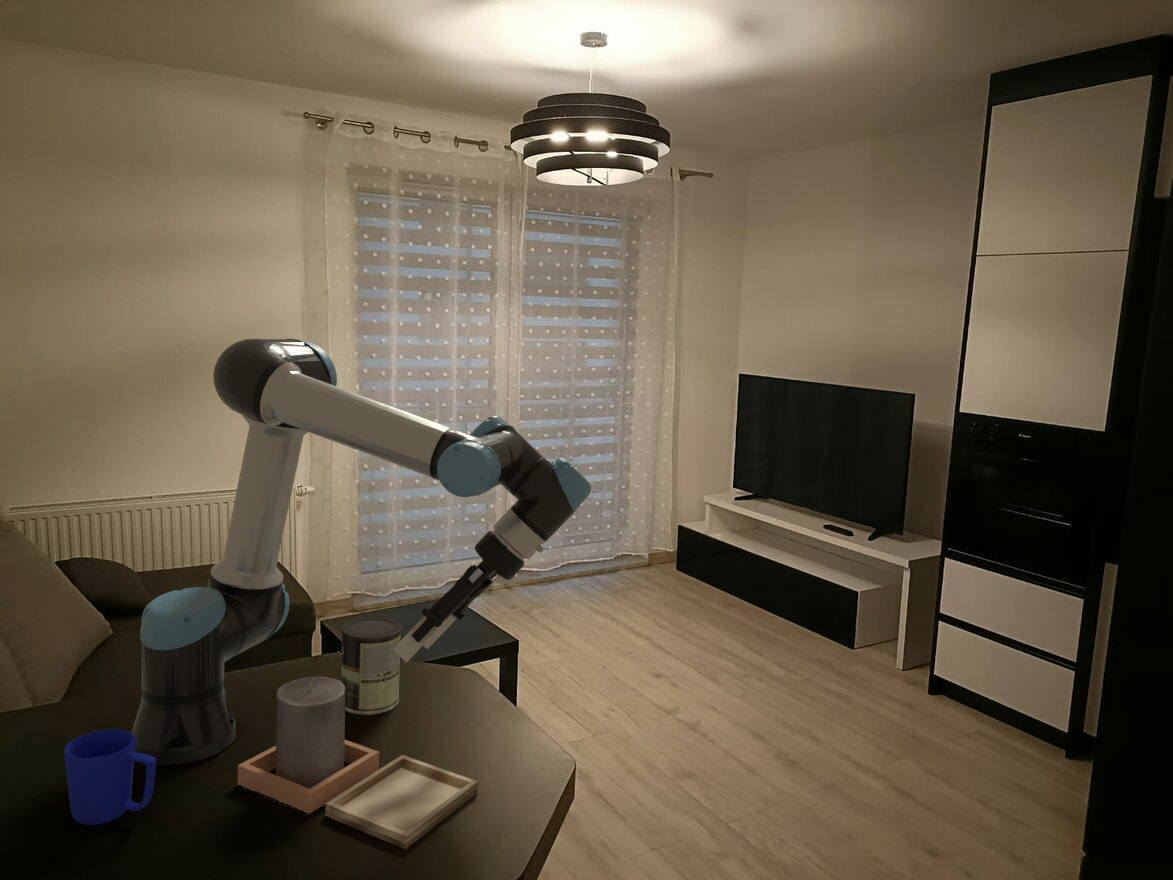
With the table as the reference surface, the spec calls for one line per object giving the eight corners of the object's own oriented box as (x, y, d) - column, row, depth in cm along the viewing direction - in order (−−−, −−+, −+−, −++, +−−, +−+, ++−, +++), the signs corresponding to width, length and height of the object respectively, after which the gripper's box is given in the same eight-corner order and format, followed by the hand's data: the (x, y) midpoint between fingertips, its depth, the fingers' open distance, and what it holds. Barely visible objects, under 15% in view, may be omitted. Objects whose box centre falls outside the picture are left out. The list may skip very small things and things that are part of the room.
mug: (130, 842, 106) (130, 768, 105) (50, 826, 108) (48, 753, 107) (174, 807, 114) (174, 738, 113) (98, 793, 116) (97, 725, 115)
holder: (237, 784, 120) (237, 765, 120) (310, 745, 133) (311, 727, 132) (308, 814, 114) (309, 794, 114) (378, 770, 126) (379, 751, 126)
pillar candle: (290, 758, 128) (290, 665, 126) (353, 762, 128) (354, 670, 126) (264, 793, 119) (264, 693, 117) (332, 798, 119) (333, 698, 116)
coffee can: (329, 711, 145) (331, 633, 143) (354, 687, 155) (356, 614, 153) (386, 718, 143) (389, 639, 142) (407, 693, 153) (410, 620, 152)
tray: (325, 815, 114) (325, 803, 114) (401, 765, 128) (402, 754, 128) (405, 849, 108) (406, 836, 107) (477, 793, 122) (477, 781, 122)
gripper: (517, 565, 114) (409, 681, 113) (534, 560, 139) (445, 654, 137) (478, 527, 115) (370, 642, 113) (501, 529, 139) (413, 622, 138)
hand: (411, 649), depth 125 cm, fingers open, 13 cm apart
